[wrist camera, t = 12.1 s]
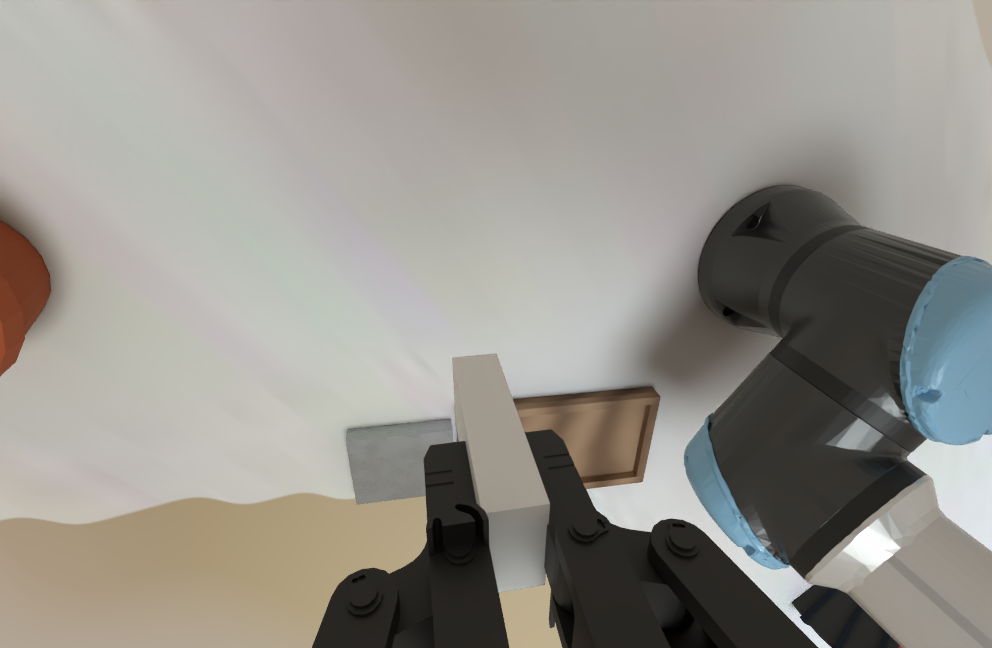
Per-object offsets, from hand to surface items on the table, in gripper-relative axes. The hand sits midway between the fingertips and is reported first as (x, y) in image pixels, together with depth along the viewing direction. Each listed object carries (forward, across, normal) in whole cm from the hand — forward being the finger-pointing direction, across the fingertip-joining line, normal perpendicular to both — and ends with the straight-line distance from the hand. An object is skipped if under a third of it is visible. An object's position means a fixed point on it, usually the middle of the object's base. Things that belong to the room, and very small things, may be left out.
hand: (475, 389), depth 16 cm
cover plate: (+30, -5, -28) cm, 41 cm away
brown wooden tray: (+29, +12, -29) cm, 43 cm away
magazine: (+29, +63, -68) cm, 97 cm away
